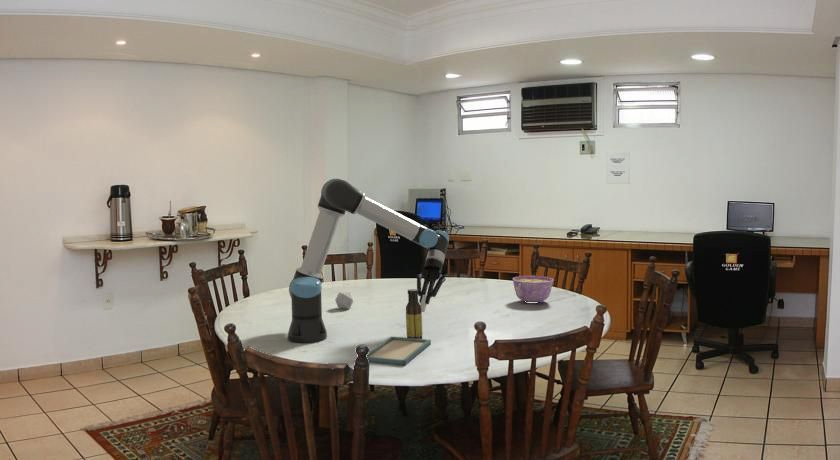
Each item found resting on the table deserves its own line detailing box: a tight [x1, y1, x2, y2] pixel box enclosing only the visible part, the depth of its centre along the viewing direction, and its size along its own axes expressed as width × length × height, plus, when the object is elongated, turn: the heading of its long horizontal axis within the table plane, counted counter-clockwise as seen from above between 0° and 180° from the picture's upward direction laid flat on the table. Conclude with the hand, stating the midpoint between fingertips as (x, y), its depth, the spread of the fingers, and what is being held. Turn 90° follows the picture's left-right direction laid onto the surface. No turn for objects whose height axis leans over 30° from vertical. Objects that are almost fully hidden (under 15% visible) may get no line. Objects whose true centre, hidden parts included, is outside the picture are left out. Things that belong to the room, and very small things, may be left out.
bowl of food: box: [512, 275, 554, 303], centre depth 320 cm, size 20×20×12 cm
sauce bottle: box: [405, 288, 424, 339], centre depth 250 cm, size 6×6×20 cm
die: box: [334, 291, 354, 310], centre depth 308 cm, size 8×9×10 cm
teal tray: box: [367, 336, 432, 367], centre depth 234 cm, size 28×16×2 cm, turn 161°
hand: (422, 310), depth 259 cm, fingers closed
